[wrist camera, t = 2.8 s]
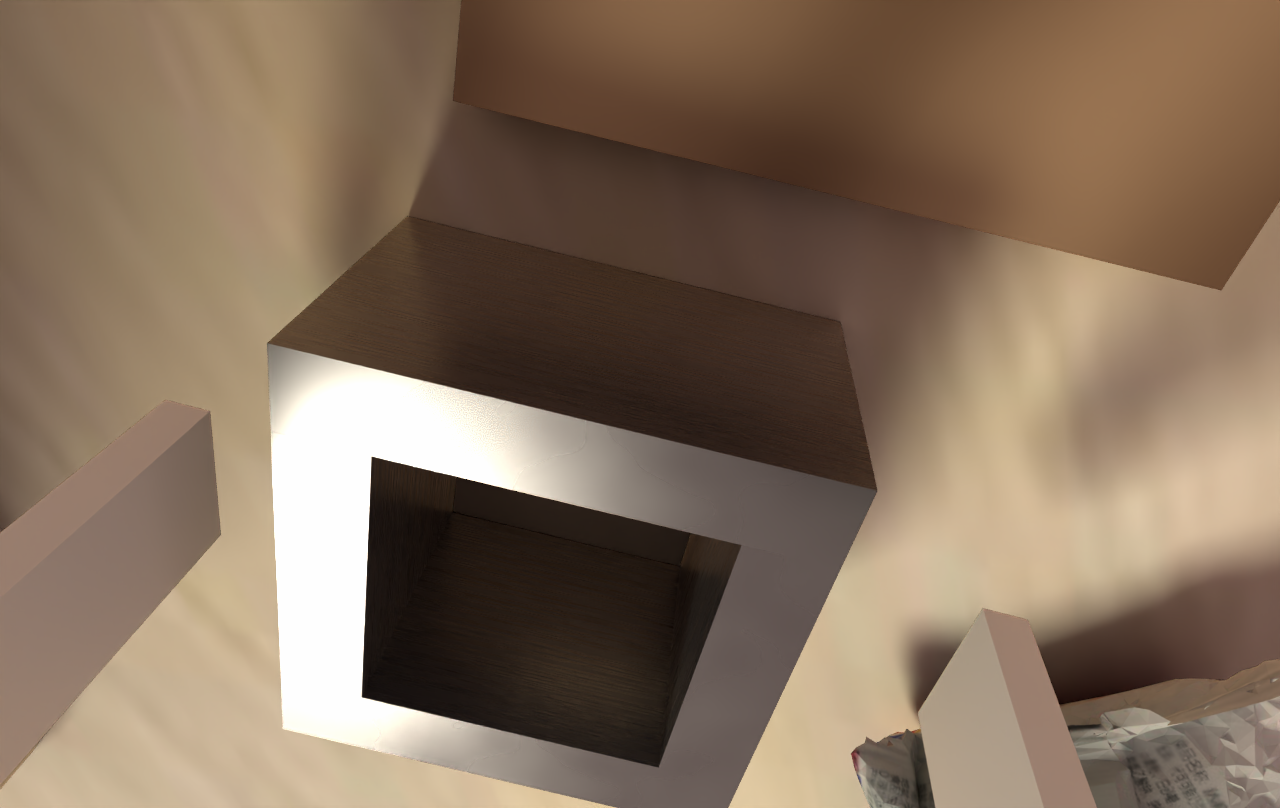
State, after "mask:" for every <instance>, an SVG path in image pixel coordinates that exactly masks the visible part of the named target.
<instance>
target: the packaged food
mask: <svg viewBox="0 0 1280 808" xmlns="http://www.w3.org/2000/svg"><path fill="white" fill-rule="evenodd" d="M1059 706H1060V708H1061V711H1062V714H1063V717H1064V719H1065V722H1066V725H1067V727H1068V730H1069V733H1070V736H1071V738H1072V741H1073V744H1074V746H1075V749H1076V752H1077V755H1078V757H1079V760H1080V763H1081V766H1082V768H1083V771H1084V774H1085V776H1086V779H1087V782H1088V785H1089V787H1090V790H1091V793H1092V796H1093V798H1094V801H1095V804H1096V806H1097V808H1280V659H1275V660H1267V661H1264V662H1262V663H1261V664H1260V665H1258V666H1256V667H1253V668H1249V669H1246V670H1243V671H1240V672H1238V673H1237V674H1235V675H1233V676H1232V677H1230V678H1229V679H1227V680H1221V679H1218V680H1215V679H1198V678H1188V679H1173V680H1169V681H1165V682H1162V683H1158V684H1154V685H1150V686H1146V687H1142V688H1138V689H1134V690H1130V691H1125V692H1121V693H1117V694H1113V695H1107V696H1102V697H1097V698H1092V699H1087V700H1082V701H1077V702H1071V703H1066V704H1061V705H1059ZM851 755H852V759H853V763H854V767H855V771H856V773H857V776H858V779H859V782H860V784H861V787H862V789H863V792H864V794H865V797H866V799H867V801H868V803H869V805H870V807H871V808H935V803H934V797H933V792H932V787H931V781H930V776H929V771H928V765H927V760H926V754H925V749H924V744H923V738H922V733H921V729H918V730H915V731H912V732H911V731H909V730H908V729H906V731H905V732H904V733H901V732H896V733H894V734H892V735H889V736H888V737H887V738H883V739H882V740H881V741H880V742H877V743H875V742H874V741H872V740H870V739H869V738H867V737H866V741H865V743H864V744H862V745H860V746H858V747H856V748H855V750H854V751H853V752H852V753H851Z"/></svg>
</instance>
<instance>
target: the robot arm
mask: <svg viewBox="0 0 1280 808" xmlns="http://www.w3.org/2000/svg"><path fill="white" fill-rule="evenodd" d="M220 535H221V530H220V519H219V507H218V496H217V485H216V473H215V462H214V450H213V439H212V427H211V416H210V411H208V410H204V409H200V408H196V407H192V406H188V405H184V404H180V403H176V402H172V401H168V400H164V401H163V402H162V403H160V404H159V405H158V406H157V407H156V408H154V409H153V410H152V411H151V412H149V413H148V414H147V415H146V416H144V417H143V418H142V419H141V420H139V421H138V422H137V423H136V424H134V425H133V426H132V427H131V428H129V429H128V430H127V431H126V432H124V433H123V434H122V435H121V436H120V437H118V438H117V439H116V440H115V441H113V442H112V443H111V444H110V445H108V446H107V447H106V448H105V449H103V450H102V451H101V452H100V453H98V454H97V455H96V456H95V457H93V458H92V459H91V460H90V461H88V462H87V463H86V464H85V465H84V466H82V467H81V468H80V469H79V470H77V471H76V472H75V473H74V474H72V475H71V476H70V477H69V478H67V479H66V480H65V481H64V482H62V483H61V484H60V485H59V486H57V487H56V488H55V489H54V490H52V491H51V492H50V493H49V494H48V495H46V496H45V497H44V498H43V499H41V500H40V501H39V502H38V503H36V504H35V505H34V506H33V507H31V508H30V509H29V510H28V511H26V512H25V513H24V514H23V515H21V516H20V517H19V518H18V519H16V520H15V521H14V522H13V523H12V524H10V525H9V526H8V527H7V528H5V529H4V530H3V531H2V532H0V789H1V788H2V787H3V786H4V784H5V783H6V782H7V781H8V780H9V779H10V777H11V776H12V775H13V774H14V773H15V772H16V770H17V769H18V768H19V767H20V766H21V764H22V763H23V762H24V761H25V760H26V759H27V757H28V756H29V755H30V754H31V753H32V752H33V750H34V749H35V747H36V746H37V744H38V742H39V740H40V739H41V738H42V737H43V736H44V735H45V733H46V732H47V731H48V730H49V729H50V728H51V727H52V725H53V724H54V723H55V722H56V721H57V720H58V719H59V718H60V716H61V715H62V714H63V713H64V712H65V711H66V710H67V708H68V707H69V706H70V705H71V704H72V703H73V702H74V701H75V699H76V698H77V697H78V696H79V695H80V694H81V693H82V691H83V690H84V689H85V688H86V687H87V686H88V685H89V684H90V682H91V681H92V680H93V679H94V678H95V677H96V676H97V674H98V673H99V672H100V671H101V670H102V669H103V668H104V667H105V665H106V664H107V663H108V662H109V661H110V660H111V659H112V657H113V656H114V655H115V654H116V653H117V652H118V651H119V650H120V648H121V647H122V646H123V645H124V644H125V643H126V642H127V640H128V639H129V638H130V637H131V636H132V635H133V634H134V633H135V631H136V630H137V629H138V628H139V627H140V626H141V625H142V623H143V622H144V621H145V620H146V619H147V618H148V617H149V616H150V614H151V613H152V612H153V611H154V610H155V609H156V608H157V606H158V605H159V604H160V603H161V602H162V601H163V600H164V599H165V597H166V596H167V595H168V594H169V593H170V592H171V591H172V589H173V588H174V587H175V586H176V585H177V584H178V583H179V582H180V580H181V579H182V578H183V577H184V576H185V575H186V574H187V572H188V571H189V570H190V569H191V568H192V567H193V566H194V565H195V563H196V562H197V561H198V560H199V559H200V558H201V557H202V555H203V554H204V553H205V552H206V551H207V550H208V549H209V548H210V546H211V545H212V544H213V543H214V542H215V541H216V540H217V538H218V537H219V536H220ZM918 717H919V722H920V728H921V733H922V738H923V744H924V749H925V754H926V760H927V765H928V771H929V776H930V781H931V787H932V792H933V797H934V803H935V808H1097V806H1096V804H1095V801H1094V798H1093V796H1092V793H1091V790H1090V787H1089V785H1088V782H1087V779H1086V776H1085V774H1084V771H1083V768H1082V766H1081V763H1080V760H1079V757H1078V755H1077V752H1076V749H1075V746H1074V744H1073V741H1072V738H1071V736H1070V733H1069V730H1068V727H1067V725H1066V722H1065V719H1064V717H1063V714H1062V711H1061V708H1060V706H1059V703H1058V700H1057V697H1056V695H1055V692H1054V689H1053V687H1052V684H1051V681H1050V678H1049V676H1048V673H1047V670H1046V667H1045V665H1044V662H1043V659H1042V657H1041V654H1040V651H1039V648H1038V646H1037V643H1036V640H1035V637H1034V635H1033V632H1032V629H1031V627H1030V624H1029V621H1028V620H1027V619H1023V618H1019V617H1015V616H1011V615H1007V614H1003V613H1000V612H996V611H992V610H988V609H984V608H983V609H982V610H981V612H980V613H979V615H978V617H977V618H976V620H975V621H974V623H973V625H972V626H971V628H970V629H969V631H968V633H967V634H966V636H965V638H964V639H963V641H962V642H961V644H960V646H959V647H958V649H957V650H956V652H955V654H954V655H953V657H952V659H951V660H950V662H949V663H948V665H947V667H946V668H945V670H944V671H943V673H942V675H941V676H940V678H939V679H938V681H937V683H936V684H935V686H934V688H933V689H932V691H931V692H930V694H929V696H928V697H927V699H926V700H925V702H924V704H923V705H922V707H921V708H920V710H919V712H918Z"/></svg>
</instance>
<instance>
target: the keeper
mask: <svg viewBox="0 0 1280 808" xmlns="http://www.w3.org/2000/svg"><path fill="white" fill-rule="evenodd" d="M453 101H456V102H460V103H464V104H468V105H472V106H476V107H480V108H484V109H488V110H492V111H496V112H500V113H504V114H508V115H512V116H516V117H521V118H525V119H529V120H533V121H537V122H541V123H545V124H549V125H553V126H557V127H561V128H565V129H569V130H573V131H577V132H581V133H585V134H589V135H593V136H598V137H602V138H606V139H610V140H614V141H618V142H622V143H626V144H630V145H634V146H638V147H642V148H646V149H650V150H654V151H658V152H662V153H666V154H670V155H675V156H679V157H683V158H687V159H691V160H695V161H699V162H703V163H707V164H711V165H715V166H719V167H723V168H727V169H731V170H735V171H739V172H743V173H748V174H752V175H756V176H760V177H764V178H768V179H772V180H776V181H780V182H784V183H788V184H792V185H796V186H800V187H804V188H808V189H812V190H816V191H820V192H825V193H829V194H833V195H837V196H841V197H845V198H849V199H853V200H857V201H861V202H865V203H869V204H873V205H877V206H881V207H885V208H889V209H893V210H897V211H902V212H906V213H910V214H914V215H918V216H922V217H926V218H930V219H934V220H938V221H942V222H946V223H950V224H954V225H958V226H962V227H966V228H970V229H975V230H979V231H983V232H987V233H991V234H995V235H999V236H1003V237H1007V238H1011V239H1015V240H1019V241H1023V242H1027V243H1031V244H1035V245H1039V246H1043V247H1047V248H1052V249H1056V250H1060V251H1064V252H1068V253H1072V254H1076V255H1080V256H1084V257H1088V258H1092V259H1096V260H1100V261H1104V262H1108V263H1112V264H1116V265H1120V266H1124V267H1129V268H1133V269H1137V270H1141V271H1145V272H1149V273H1153V274H1157V275H1161V276H1165V277H1169V278H1173V279H1177V280H1181V281H1185V282H1189V283H1193V284H1197V285H1201V286H1206V287H1210V288H1214V289H1218V290H1222V289H1223V287H1224V285H1225V284H1226V282H1227V281H1228V279H1229V278H1230V276H1231V275H1232V273H1233V272H1234V270H1235V269H1236V267H1237V266H1238V264H1239V262H1240V261H1241V259H1242V258H1243V256H1244V255H1245V253H1246V252H1247V250H1248V249H1249V247H1250V246H1251V244H1252V242H1253V241H1254V239H1255V238H1256V236H1257V235H1258V233H1259V232H1260V230H1261V229H1262V227H1263V226H1264V224H1265V223H1266V221H1267V219H1268V218H1269V216H1270V215H1271V213H1272V212H1273V210H1274V209H1275V207H1276V206H1277V204H1278V203H1279V201H1280V0H461V11H460V23H459V35H458V47H457V59H456V70H455V82H454V94H453Z"/></svg>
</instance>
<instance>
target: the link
mask: <svg viewBox="0 0 1280 808" xmlns="http://www.w3.org/2000/svg"><path fill="white" fill-rule="evenodd" d="M267 352H268V377H269V401H270V425H271V450H272V474H273V498H274V523H275V547H276V572H277V596H278V620H279V645H280V669H281V693H282V718H283V729H285V730H290V731H294V732H298V733H302V734H307V735H311V736H315V737H319V738H324V739H328V740H332V741H336V742H341V743H345V744H349V745H353V746H358V747H362V748H366V749H370V750H375V751H379V752H383V753H387V754H392V755H396V756H400V757H404V758H409V759H413V760H417V761H421V762H426V763H430V764H434V765H438V766H443V767H447V768H451V769H455V770H460V771H464V772H468V773H472V774H477V775H481V776H485V777H489V778H494V779H498V780H502V781H506V782H510V783H515V784H519V785H523V786H527V787H532V788H536V789H540V790H544V791H549V792H553V793H557V794H561V795H566V796H570V797H574V798H578V799H583V800H587V801H591V802H595V803H600V804H604V805H608V806H612V807H617V808H728V807H729V805H730V803H731V801H732V799H733V796H734V794H735V792H736V790H737V788H738V786H739V784H740V782H741V779H742V777H743V775H744V773H745V771H746V769H747V767H748V765H749V762H750V760H751V758H752V756H753V754H754V752H755V750H756V748H757V745H758V743H759V741H760V739H761V737H762V735H763V733H764V731H765V728H766V726H767V724H768V722H769V720H770V718H771V716H772V714H773V711H774V709H775V707H776V705H777V703H778V701H779V699H780V697H781V694H782V692H783V690H784V688H785V686H786V684H787V682H788V680H789V677H790V675H791V673H792V671H793V669H794V667H795V665H796V663H797V660H798V658H799V656H800V654H801V652H802V650H803V648H804V646H805V643H806V641H807V639H808V637H809V635H810V633H811V631H812V629H813V626H814V624H815V622H816V620H817V618H818V616H819V614H820V612H821V609H822V607H823V605H824V603H825V601H826V599H827V597H828V595H829V592H830V590H831V588H832V586H833V584H834V582H835V580H836V578H837V575H838V573H839V571H840V569H841V567H842V565H843V563H844V561H845V558H846V556H847V554H848V552H849V550H850V548H851V546H852V544H853V541H854V539H855V537H856V535H857V533H858V531H859V529H860V527H861V525H862V522H863V520H864V518H865V516H866V514H867V512H868V510H869V508H870V505H871V503H872V501H873V499H874V497H875V495H876V493H877V487H876V482H875V478H874V473H873V469H872V464H871V459H870V455H869V450H868V446H867V441H866V437H865V432H864V427H863V423H862V418H861V414H860V409H859V405H858V400H857V396H856V391H855V386H854V382H853V377H852V373H851V368H850V364H849V359H848V354H847V350H846V345H845V341H844V336H843V332H842V327H841V323H840V322H837V321H833V320H829V319H825V318H821V317H817V316H813V315H809V314H805V313H801V312H797V311H793V310H788V309H784V308H780V307H776V306H772V305H768V304H764V303H760V302H756V301H752V300H748V299H743V298H739V297H735V296H731V295H727V294H723V293H719V292H715V291H711V290H707V289H703V288H699V287H694V286H690V285H686V284H682V283H678V282H674V281H670V280H666V279H662V278H658V277H654V276H649V275H645V274H641V273H637V272H633V271H629V270H625V269H621V268H617V267H613V266H609V265H604V264H600V263H596V262H592V261H588V260H584V259H580V258H576V257H572V256H568V255H564V254H560V253H555V252H551V251H547V250H543V249H539V248H535V247H531V246H527V245H523V244H519V243H515V242H510V241H506V240H502V239H498V238H494V237H490V236H486V235H482V234H478V233H474V232H470V231H465V230H461V229H457V228H453V227H449V226H445V225H441V224H437V223H433V222H429V221H425V220H421V219H416V218H412V217H408V216H407V217H406V218H405V219H404V220H403V221H402V222H400V223H399V224H398V225H397V226H396V227H395V228H394V229H393V230H392V231H391V232H389V233H388V234H387V235H386V236H385V237H384V238H383V239H382V240H381V241H379V242H378V243H377V244H376V245H375V246H374V247H373V248H372V249H371V250H370V251H368V252H367V253H366V254H365V255H364V256H363V257H362V258H361V259H360V260H358V261H357V262H356V263H355V264H354V265H353V266H352V267H351V268H350V269H349V270H347V271H346V272H345V273H344V274H343V275H342V276H341V277H340V278H339V279H337V280H336V281H335V282H334V283H333V284H332V285H331V286H330V287H329V288H328V289H326V290H325V291H324V292H323V293H322V294H321V295H320V296H319V297H318V298H316V299H315V300H314V301H313V302H312V303H311V304H310V305H309V306H308V307H307V308H305V309H304V310H303V311H302V312H301V313H300V314H299V315H298V316H297V317H295V318H294V319H293V320H292V321H291V322H290V323H289V324H288V325H287V326H286V327H284V328H283V329H282V330H281V331H280V332H279V333H278V334H277V335H276V336H274V337H273V338H272V339H271V340H270V341H269V342H268V343H267ZM456 477H460V478H464V479H469V480H473V481H477V482H481V483H485V484H489V485H493V486H498V487H502V488H506V489H510V490H514V491H518V492H523V493H527V494H531V495H535V496H539V497H543V498H548V499H552V500H556V501H560V502H564V503H568V504H573V505H577V506H581V507H585V508H589V509H593V510H597V511H602V512H606V513H610V514H614V515H618V516H622V517H627V518H631V519H635V520H639V521H643V522H647V523H652V524H656V525H660V526H664V527H668V528H672V529H676V530H681V531H685V532H689V533H691V534H690V537H689V540H688V543H687V546H686V549H685V552H684V555H683V558H682V562H681V565H680V567H679V566H675V565H670V564H666V563H662V562H658V561H654V560H650V559H645V558H641V557H637V556H633V555H629V554H625V553H620V552H616V551H612V550H608V549H604V548H599V547H595V546H591V545H587V544H583V543H579V542H574V541H570V540H566V539H562V538H558V537H554V536H549V535H545V534H541V533H537V532H533V531H529V530H524V529H520V528H516V527H512V526H508V525H504V524H499V523H495V522H491V521H487V520H483V519H479V518H474V517H470V516H466V515H462V514H458V513H454V512H452V511H453V502H454V493H455V484H456Z"/></svg>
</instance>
